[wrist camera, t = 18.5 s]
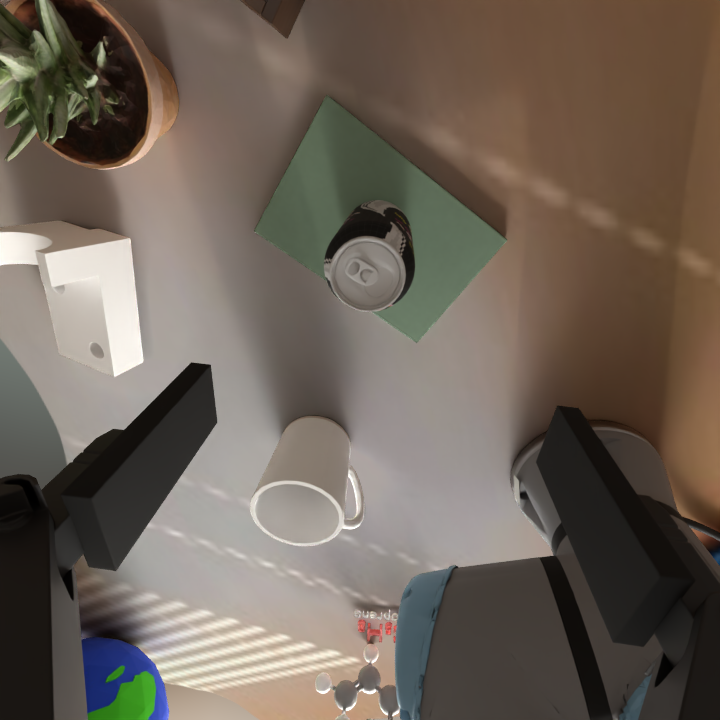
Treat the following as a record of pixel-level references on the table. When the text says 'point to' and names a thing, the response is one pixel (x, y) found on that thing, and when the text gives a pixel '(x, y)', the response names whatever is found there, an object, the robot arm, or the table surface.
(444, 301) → the mat
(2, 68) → the potted plant
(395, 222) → the beverage can
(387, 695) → the molecule model
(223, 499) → the table surface
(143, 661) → the globe
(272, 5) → the holder
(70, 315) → the bracket
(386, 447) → the table surface
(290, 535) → the mug
